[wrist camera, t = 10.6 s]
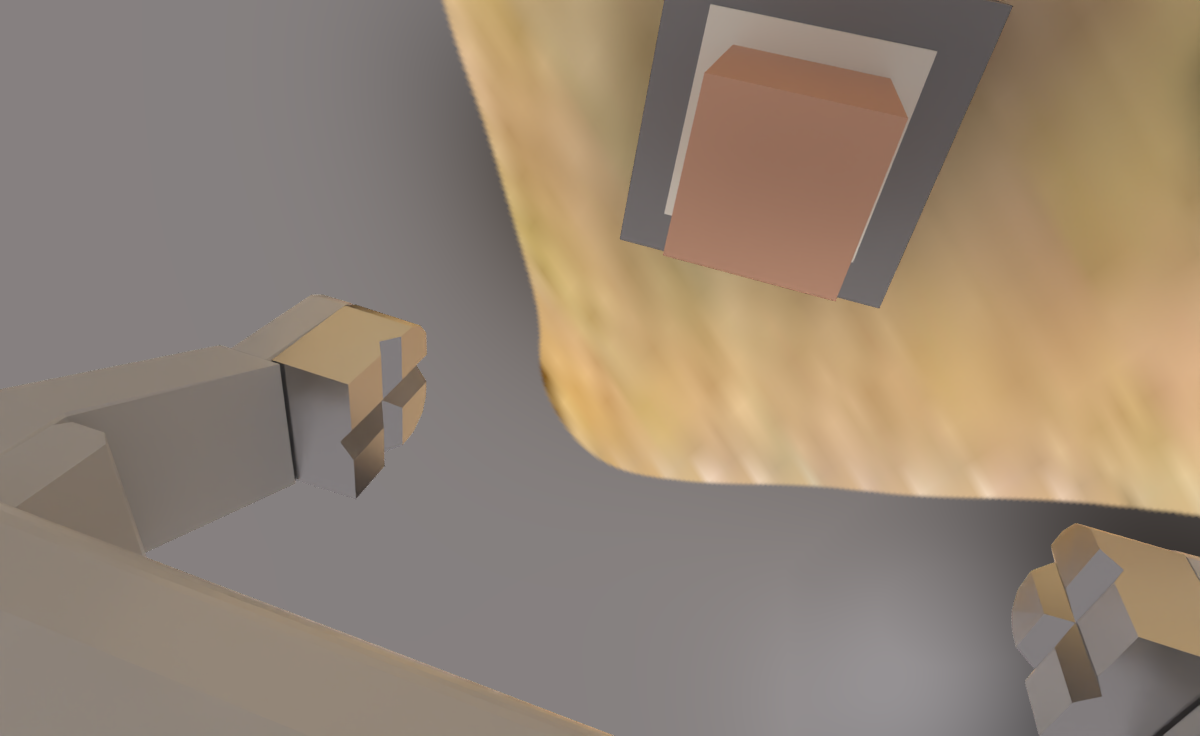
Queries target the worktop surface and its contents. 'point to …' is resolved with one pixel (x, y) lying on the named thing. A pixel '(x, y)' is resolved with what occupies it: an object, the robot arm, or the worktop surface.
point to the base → (837, 38)
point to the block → (783, 169)
